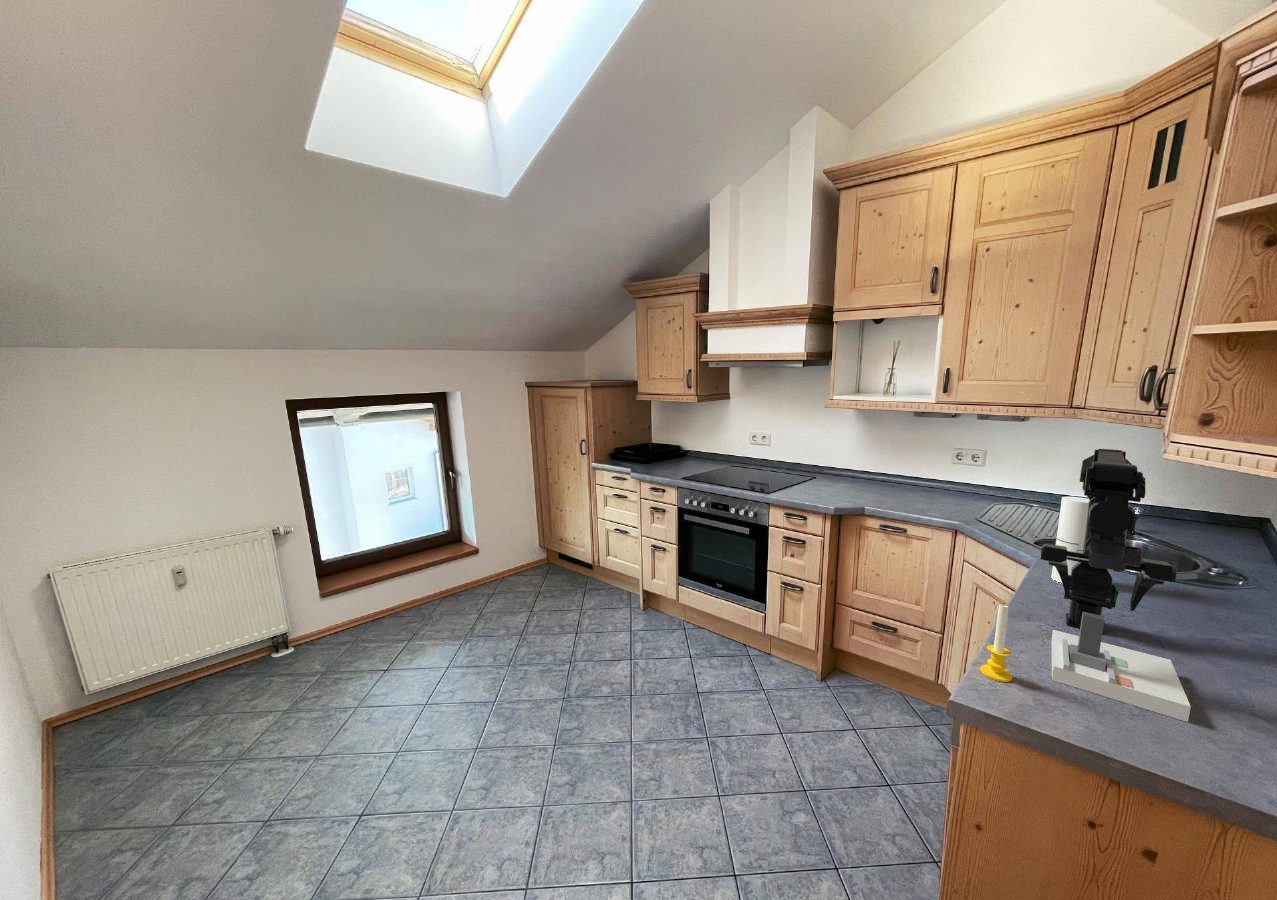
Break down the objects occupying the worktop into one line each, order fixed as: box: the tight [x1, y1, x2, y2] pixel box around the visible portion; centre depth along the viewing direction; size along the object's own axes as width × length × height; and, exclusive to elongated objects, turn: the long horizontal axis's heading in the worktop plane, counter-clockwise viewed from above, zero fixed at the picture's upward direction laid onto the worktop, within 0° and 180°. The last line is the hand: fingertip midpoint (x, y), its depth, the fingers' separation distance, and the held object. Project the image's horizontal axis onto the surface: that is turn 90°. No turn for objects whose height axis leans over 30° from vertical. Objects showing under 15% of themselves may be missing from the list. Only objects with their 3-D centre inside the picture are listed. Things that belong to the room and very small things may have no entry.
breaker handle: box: [1069, 612, 1106, 671], centre depth 94 cm, size 4×5×10 cm
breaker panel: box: [1050, 629, 1191, 723], centre depth 94 cm, size 18×18×4 cm
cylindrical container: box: [1051, 496, 1089, 584], centre depth 137 cm, size 7×7×25 cm
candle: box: [979, 604, 1013, 683], centre depth 95 cm, size 5×5×16 cm
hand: (1098, 603), depth 93 cm, fingers open, 9 cm apart
